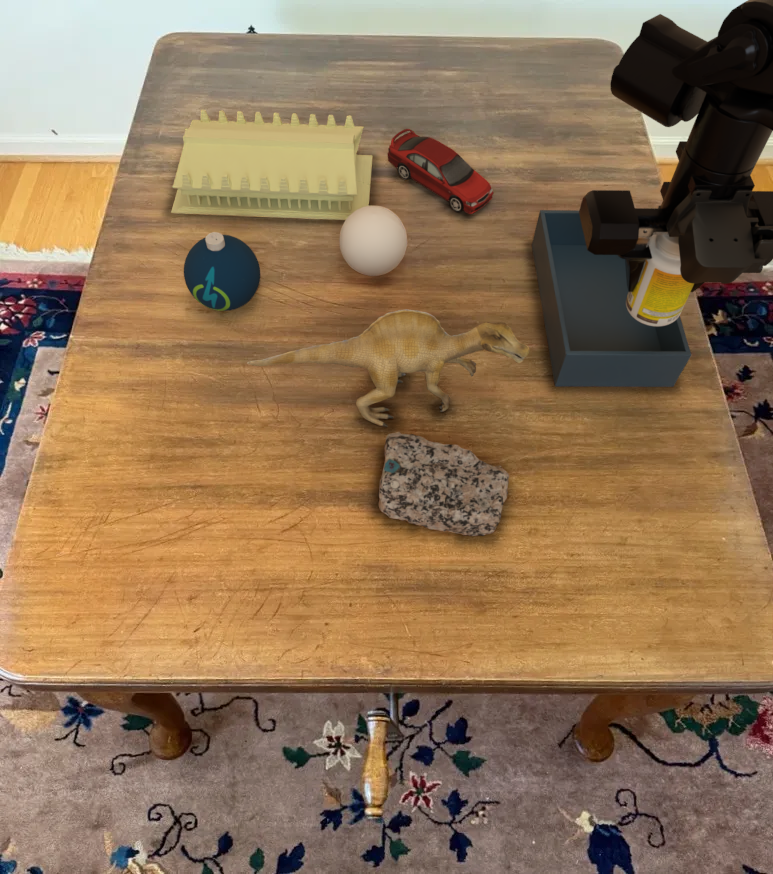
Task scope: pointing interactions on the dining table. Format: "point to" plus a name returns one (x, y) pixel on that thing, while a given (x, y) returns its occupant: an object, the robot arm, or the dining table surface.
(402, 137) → the toy car
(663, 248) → the supplement bottle
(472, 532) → the rock
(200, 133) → the model building
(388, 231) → the ball
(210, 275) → the christmas ornament
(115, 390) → the dining table surface
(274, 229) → the dining table surface
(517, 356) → the dinosaur figurine
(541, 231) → the storage tote
